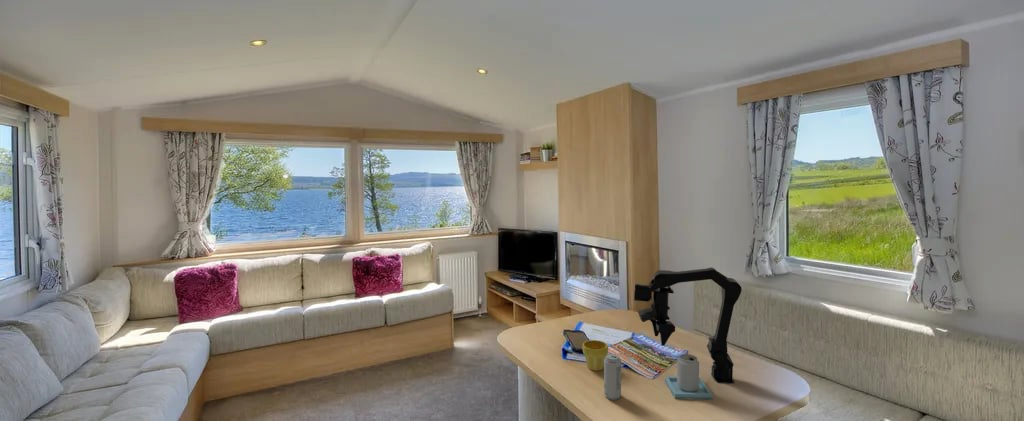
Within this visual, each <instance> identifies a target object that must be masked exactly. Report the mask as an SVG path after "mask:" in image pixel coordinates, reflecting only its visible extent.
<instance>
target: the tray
mask: <svg viewBox="0 0 1024 421" xmlns="http://www.w3.org/2000/svg"><path fill="white" fill-rule="evenodd" d="M664 382H665V383H666V386H667V387H668V389H669V391H670V393H671V394H672V396H673V398H674V399H680V400H681V399H682V400H713V397H714V396H713V393H712V392H711V390H710V389H709V387H708V386H707V385H706V383H704V381H703V380H702V379H701V377H700V376H699V389H698V390H696V391H695V392H686V391H683V390H681V389H680V388H679V387H678V386H677V376H669V375H667V376H664Z"/></svg>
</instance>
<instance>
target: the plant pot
mask: <svg viewBox="0 0 1024 421" xmlns="http://www.w3.org/2000/svg"><path fill="white" fill-rule="evenodd" d="M582 352H583V355H584V359H585V362H586V366H587V368H588V369H589V370H591V371H599V372H600V371H602V370H604V359H605V358H606V355H607V354H609V346H608V343H607V342H605V341H603V340H602V341H601V340H597V339H591V340H585V341H584V342H582Z"/></svg>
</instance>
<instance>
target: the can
mask: <svg viewBox="0 0 1024 421" xmlns="http://www.w3.org/2000/svg"><path fill="white" fill-rule="evenodd" d="M676 361H677V362H676V365H677V366H676V368H677V369H676V371H677V372H676V377H677V386H678V387H679V388H680V389H681V390H683V391H686V392H695V391H696V390H698V389H699V377H700V362H699V361H698V358H697V356H695V355H694V354H689V353H683V354H680V355H678V358H677V360H676Z"/></svg>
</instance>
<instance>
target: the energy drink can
mask: <svg viewBox="0 0 1024 421" xmlns="http://www.w3.org/2000/svg"><path fill="white" fill-rule="evenodd" d="M603 393H604V395H605V398H607V399H608V400H611V401H617V400H619V399H620V397H621V396H622V361H621V358H620V355H618V354H616V353H608V354H607V355H606V358H605V359H604V368H603Z"/></svg>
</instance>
